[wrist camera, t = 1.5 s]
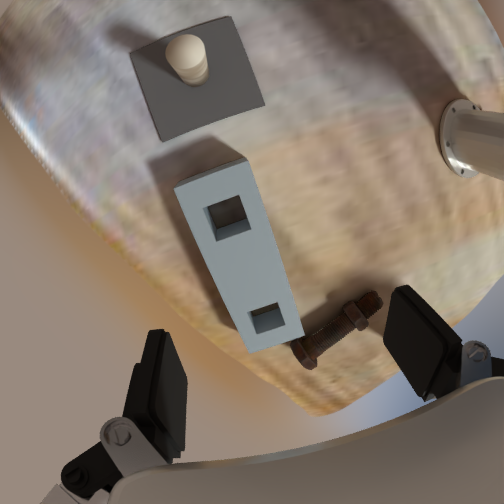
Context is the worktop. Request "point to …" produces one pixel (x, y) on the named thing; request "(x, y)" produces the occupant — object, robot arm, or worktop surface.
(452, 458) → the robot arm
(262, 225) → the hole block
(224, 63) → the mat
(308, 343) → the bolt
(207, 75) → the peg
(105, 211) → the worktop surface
